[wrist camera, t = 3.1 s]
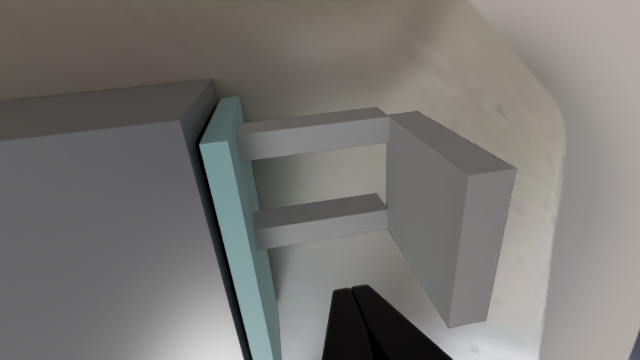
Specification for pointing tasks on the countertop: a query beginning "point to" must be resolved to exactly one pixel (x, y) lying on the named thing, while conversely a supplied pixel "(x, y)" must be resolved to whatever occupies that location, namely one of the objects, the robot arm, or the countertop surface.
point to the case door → (361, 206)
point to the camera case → (112, 230)
